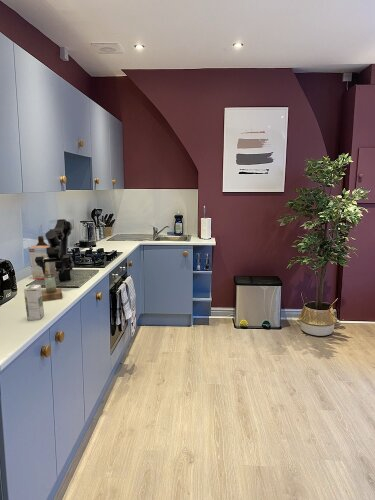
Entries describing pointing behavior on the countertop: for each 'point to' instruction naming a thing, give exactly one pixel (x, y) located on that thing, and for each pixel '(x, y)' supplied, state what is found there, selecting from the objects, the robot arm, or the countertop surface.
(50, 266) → the cracker box
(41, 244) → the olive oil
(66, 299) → the countertop surface
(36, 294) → the syrup box
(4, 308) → the countertop surface
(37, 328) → the countertop surface
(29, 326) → the countertop surface
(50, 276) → the spice tin
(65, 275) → the robot arm
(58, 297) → the walnut block
